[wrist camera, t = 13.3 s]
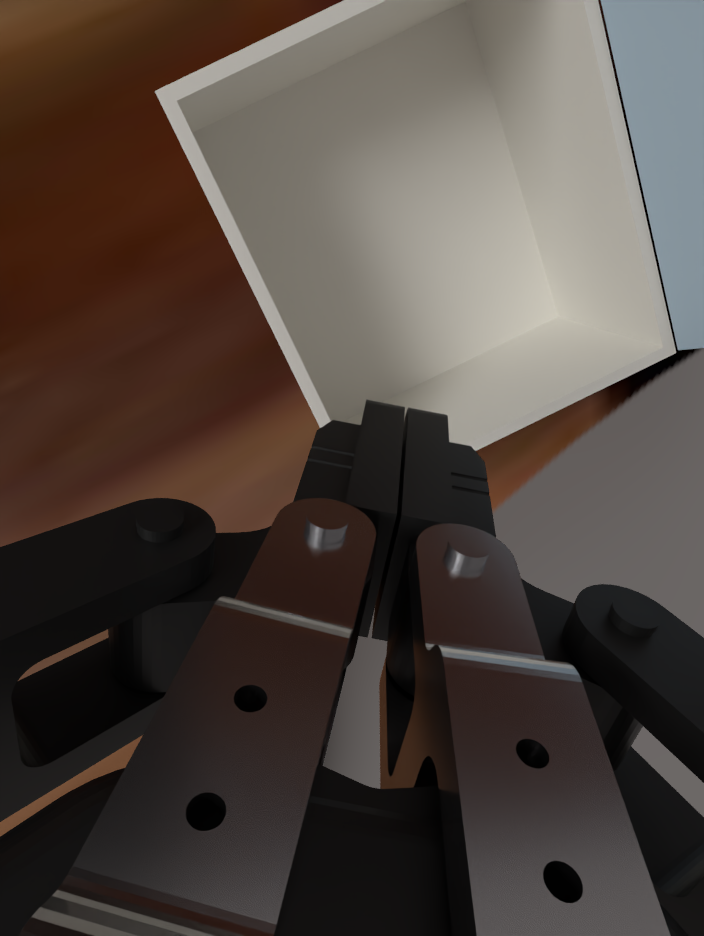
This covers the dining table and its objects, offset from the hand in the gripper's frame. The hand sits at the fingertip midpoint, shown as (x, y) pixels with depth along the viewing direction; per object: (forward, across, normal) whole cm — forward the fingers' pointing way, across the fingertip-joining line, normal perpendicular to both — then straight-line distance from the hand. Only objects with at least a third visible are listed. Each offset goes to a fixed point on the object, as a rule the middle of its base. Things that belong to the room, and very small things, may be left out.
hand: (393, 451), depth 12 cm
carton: (+31, +1, +2) cm, 31 cm away
